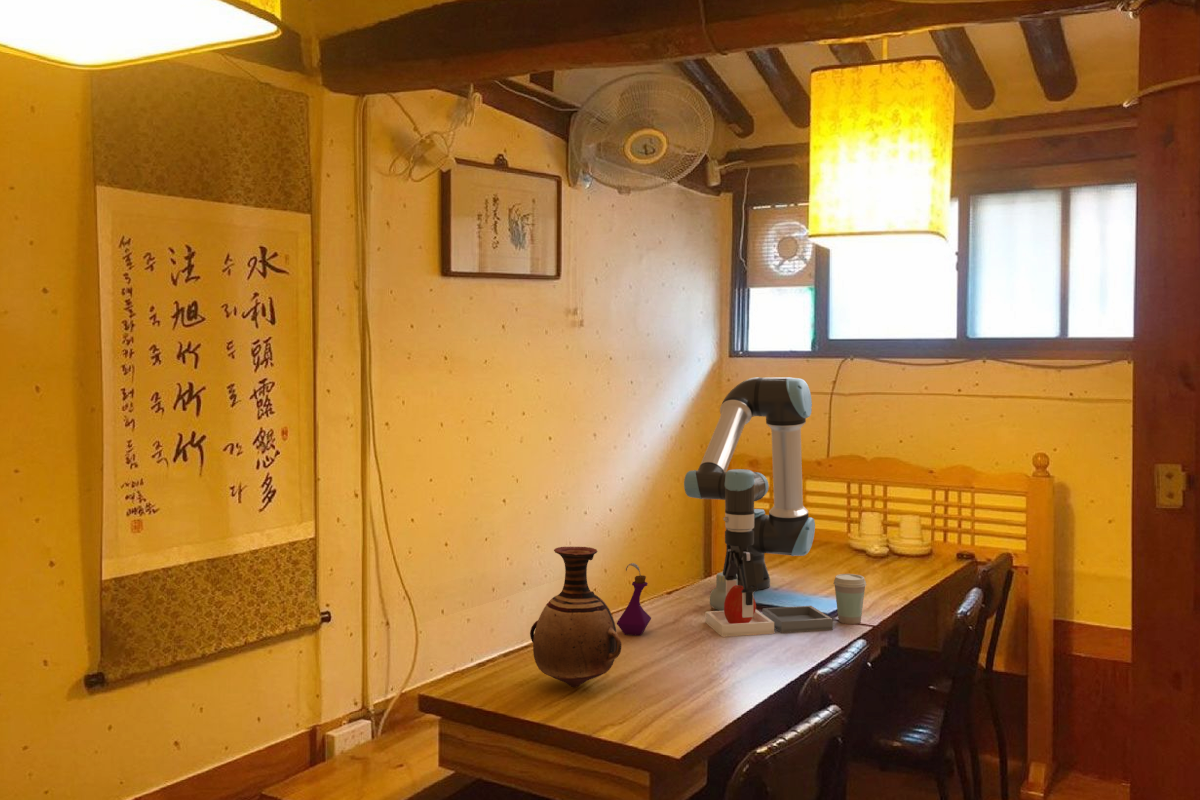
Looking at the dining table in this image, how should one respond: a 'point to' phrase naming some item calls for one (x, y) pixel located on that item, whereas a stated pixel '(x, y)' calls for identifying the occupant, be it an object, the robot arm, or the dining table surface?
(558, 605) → the vase
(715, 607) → the air freshener
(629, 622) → the perfume bottle
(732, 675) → the dining table surface
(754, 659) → the dining table surface
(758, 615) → the beige square dish
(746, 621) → the apple
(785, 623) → the grey square tray
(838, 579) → the coffee cup
